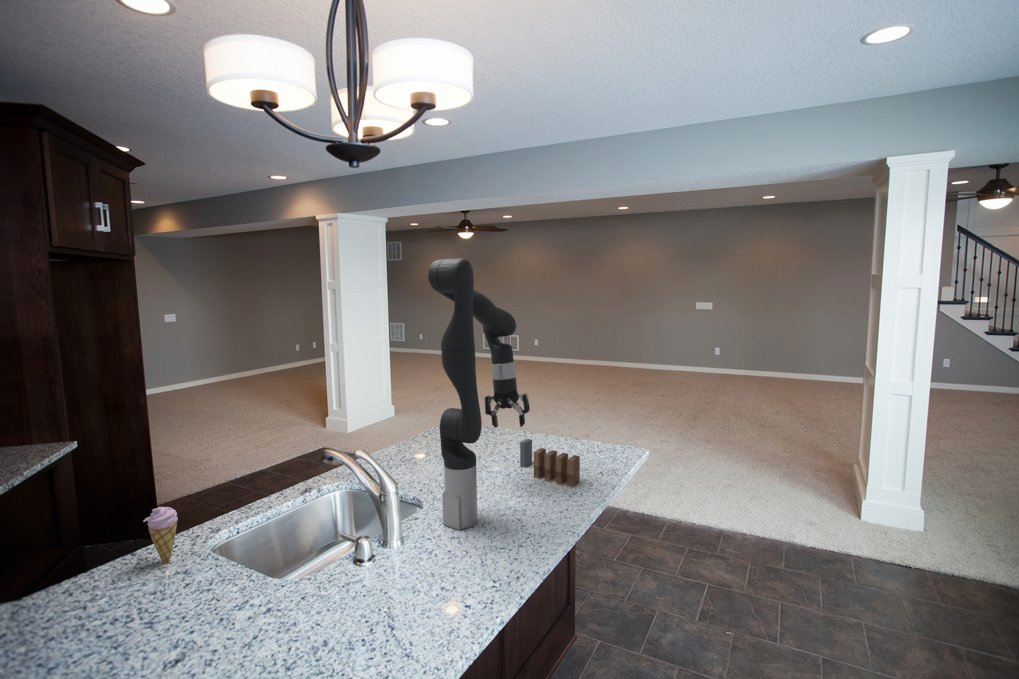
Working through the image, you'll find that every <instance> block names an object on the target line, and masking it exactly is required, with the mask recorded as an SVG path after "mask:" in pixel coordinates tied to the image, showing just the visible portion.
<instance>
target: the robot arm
mask: <svg viewBox="0 0 1019 679" xmlns="http://www.w3.org/2000/svg"><path fill="white" fill-rule="evenodd" d="M473 269H474V268H473V266H472V263H471V262H470V260H469V259H467V258H462V257H459V258H442V259H436V260H434V261H433V262H432V263H431V264H430V266H429V268H428V271H427V278H428V282H429V284H430V286H431V288H432V289H433V290H434V291H435V292H437V293H439V294H440V295H442V296H444V297H446V298H447V299H449V300H450V301H452V302H454V306H453V314H452V317H451V319H450V321H449V323H448V325H447V327H446V328H445V330H444V333H443V336H442V338H441V342H440V351H441V363H442V364H441V365H442V367H443V370H444V373H445V374H446V376H447V378H448V379H449V381H450V383H451V384H452V386H453V387H454V389H455V390H456V392H457V394H458V398H459V401H460V407H461V408H455V407H449V408H446V409H445V410H444V411H443V412H442V415H441V417H440V420H439V439H440V450H441V451H440V452H441V457H442V460H443V470H444V472H443V474H444V479H443V480H444V492H442V494H441V495H442V524H443V525H444V526H446V527H450V528H452V529H455V530H458V531H460V530H462V529H467V528H471V527H473V526H475V525H476V524H477V523H478V488H477V487H478V484H477V481H478V480H477V478H478V477H477V471H478V470H477V455H476V453H475V452H474V451H472V449H470V448H468V447H467V446H466V445H465V444H475V443H477V442H478V440H479V439H480V437H481V434H482V427H483V426H482V414H481V413H482V412H481V407H480V401H479V399H480V398H479V394H478V386H477V370H476V369H477V368H476V367H477V366H476V363H477V362H476V345H475V344H476V343H475V336H474V335H475V333H474V319H476V320H477V321H478V322H479V323H480V324H481V325H482V330H483V334H484V336H485V339H486V342H487V344H488V347H489V350H490V357H491V376H492V386H493V395H489V394H488V395H486V396H485V397H484V410H485V411H484V412H485V413H484V414H485V415H487V416H490V417H491V425H492V427H493V428H494V429H496V428H498V427H499V422H498V415H497V413H498V412H499V410H500V409H501V410H504V409H513V410H515V411H516V412H517V413H518V414H519V415H518V422H519V428H522V427H524V425H525V424H526V419H525V414H527V413H529V412H530V411H531V407H530V402H529V395H528V393H527V392H526V393H525V392H524V393H523V394H522V393H519V392H518V386H517V385H518V383H517V372H516V366H515V362H514V351H513V350H514V349H513V347H512V345H511V344H509V343H503V342H501V341H500V339H499V338H501V337H503V338H504V337H510V336H512V335H514V333H515V332H516V330H517V322H516V320H515V318H514V316H513V315H512V314H511V313H510V312H508V311H506V310H505V309H502V308H500V307H498V306H496V305H495V304H494V303H493V301H492V300H491V299H490V298H489V297H487V296H486V295H485V294H483V293H481V292H480V291H479V292H478V291H477V290H475V288H474V286H475V283H474V282H475V278H474V270H473ZM519 399H520V400H521V402H523V403H522V404H523V407H522V406H521V405H520V403H519V402H518V400H519ZM493 401H494V403H495V406H494V408H493V409H492V407H491V406H492V405H491V403H492V402H493Z"/></svg>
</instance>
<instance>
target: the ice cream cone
mask: <svg viewBox="0 0 1019 679" xmlns="http://www.w3.org/2000/svg"><path fill="white" fill-rule="evenodd" d="M178 520H179V519H178V513H177V511H176V510H175V509H173V508H172V507H169V506H158V507H157V508H153V509H151V513H150V516H148V517H146V518H144V520H143V523H144V522H147V526H148V527H147V529H148V531H149V536H150V538H151V540H152V543H153V544H154V547H155V550H156V552H157V554H158V556H159V557H160V560H161V562H162V564H169V563H170V561H171V558H172V553H173V548H174V544H175V538H176V532H177V527H178Z"/></svg>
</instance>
